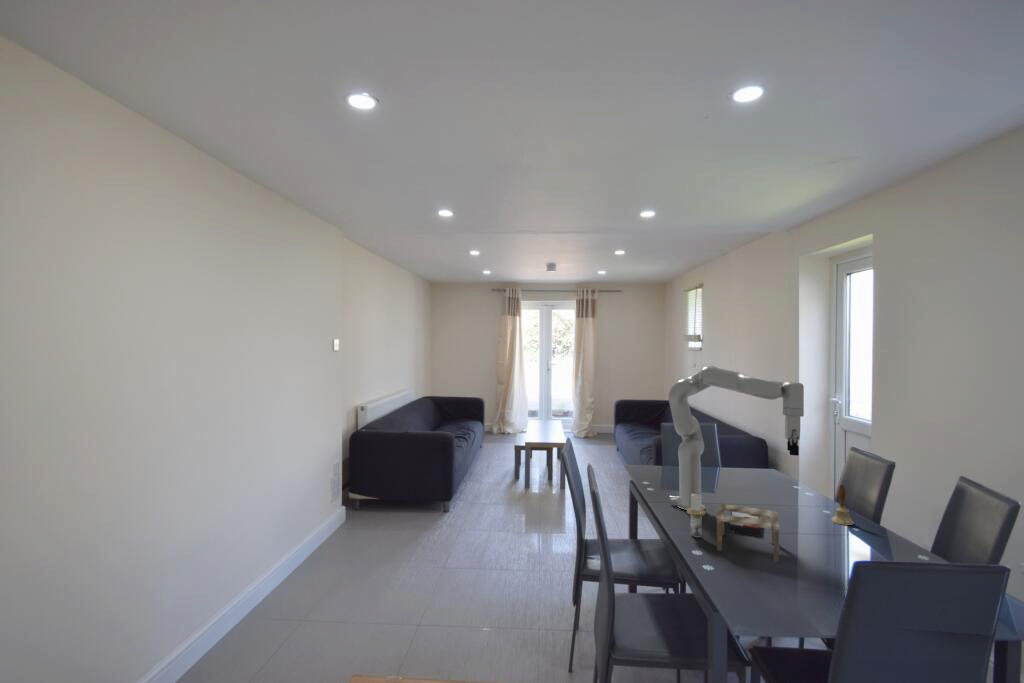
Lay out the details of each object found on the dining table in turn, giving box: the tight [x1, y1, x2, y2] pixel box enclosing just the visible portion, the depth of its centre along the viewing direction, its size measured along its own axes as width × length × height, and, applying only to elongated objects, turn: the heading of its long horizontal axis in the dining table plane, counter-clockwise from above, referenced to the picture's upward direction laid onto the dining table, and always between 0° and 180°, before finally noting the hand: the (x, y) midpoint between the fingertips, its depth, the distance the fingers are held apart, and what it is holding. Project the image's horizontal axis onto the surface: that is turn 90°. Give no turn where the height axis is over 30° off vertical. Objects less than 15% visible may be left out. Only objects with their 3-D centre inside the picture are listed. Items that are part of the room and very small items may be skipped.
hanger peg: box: [686, 493, 707, 536], centre depth 182 cm, size 7×7×16 cm
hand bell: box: [830, 483, 855, 526], centre depth 198 cm, size 8×8×16 cm
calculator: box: [728, 511, 761, 537], centre depth 191 cm, size 11×4×15 cm
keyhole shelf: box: [715, 502, 781, 563], centre depth 172 cm, size 20×18×12 cm
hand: (792, 452), depth 193 cm, fingers open, 9 cm apart
